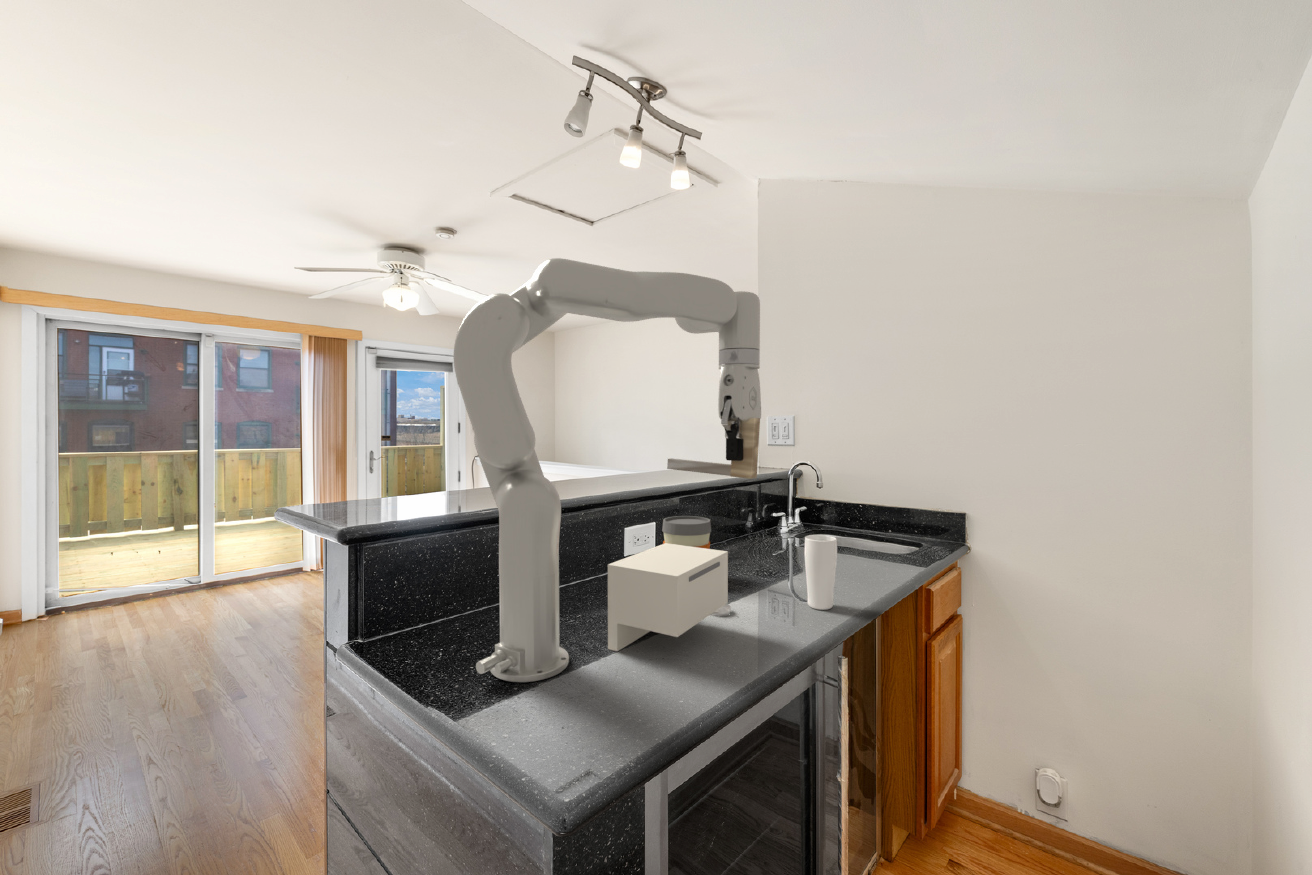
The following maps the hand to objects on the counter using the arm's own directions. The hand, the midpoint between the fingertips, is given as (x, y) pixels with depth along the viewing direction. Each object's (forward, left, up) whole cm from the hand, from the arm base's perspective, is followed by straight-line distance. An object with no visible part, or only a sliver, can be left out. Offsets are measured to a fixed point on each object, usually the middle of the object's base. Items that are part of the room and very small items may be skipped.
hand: (738, 458), depth 103 cm
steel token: (+9, +8, -33) cm, 36 cm away
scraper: (0, +6, -3) cm, 7 cm away
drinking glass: (+24, -9, -33) cm, 42 cm away
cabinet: (-8, +10, -33) cm, 36 cm away
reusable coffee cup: (+28, +26, -33) cm, 51 cm away
